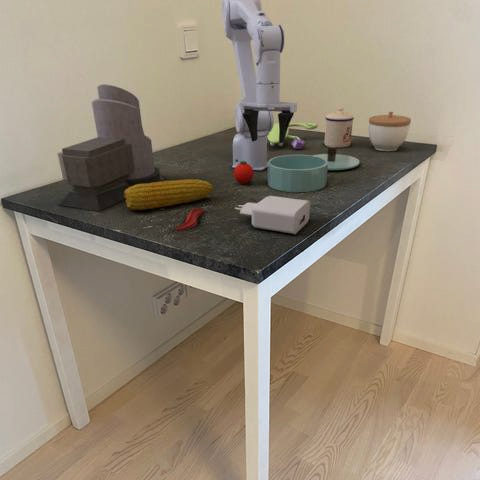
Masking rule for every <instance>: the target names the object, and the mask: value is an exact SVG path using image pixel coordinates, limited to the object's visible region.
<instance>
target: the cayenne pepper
mask: <svg viewBox="0 0 480 480" xmlns="http://www.w3.org/2000/svg"><path fill="white" fill-rule="evenodd" d="M204 212H205V210H203V209H200V208H192V209H191V210H190V212H189V213H188V214H187V215H186V219H185V222H184V223H182V224H180V225H179V226H177V227H176V228H175V231H181V230H182V231H183V230H187V229H190V228H193V227H196V226H197V225H198V218H199V217H200V216H201V214H203V213H204Z"/></svg>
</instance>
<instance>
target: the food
mask: <svg viewBox="0 0 480 480" xmlns="http://www.w3.org/2000/svg"><path fill="white" fill-rule="evenodd" d="M213 189H214V187H213V184H211V183H210V181H209V182H208V181H207V180H202V179H192V178H190V179H178V180H177V179H175V180H163V181H161V182H154V183H150V184H149V183H147V184H137V185H134V186H131V187H129V188H128V189H126V190H125V191H124V195H125V196H124V197H125V203H126V207H128V209H130V210H132V211H143V210H144V211H145V210H153V209H158V208H166V207H169V206H171V207H172V206H175V205H179V204H185V203H190V202H195V201H200V200H203V199H205V198H207V197H209V196H210V195H211V194H212V191H213Z"/></svg>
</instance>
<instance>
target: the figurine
mask: <svg viewBox="0 0 480 480" xmlns="http://www.w3.org/2000/svg"><path fill="white" fill-rule="evenodd" d="M318 126H319V125H318V124H317V123H313V122H308V123H307V124H306V123H305V122H290V123H289V126H288V129H287V132H286V136H285V139H288V140H293V141H292V142H291V145H292V147H293V149H297V150H302V149H303V147H304V145H305V144H306V140H304V139H303V138H300V137H299V136H296V135H290V134H289V131H290V129H289V128H290V127H292V128H293V127H303V128H304V129H306V130H315V129H317V128H318ZM268 143H269V144H270V146H271V147H274V146H275V145H277V146H278V147H283V145H284V142H283V143H279V122H278V123H277V122H275V123H274V124H273V128H272V130H271V132H269V135H267V144H268Z"/></svg>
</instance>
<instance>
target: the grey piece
mask: <svg viewBox="0 0 480 480" xmlns="http://www.w3.org/2000/svg"><path fill="white" fill-rule="evenodd" d="M96 89H97V95H98V98H95V99H93V100H92V102H91V107H92V112H93V118H94V124H95V130H96V131H95V132H96V137H94V138H91V139H88V140H86V141H82V142H78V143H76V144H73V145H69V146H67V147H66V146H65V147H64V148H61V151H60V152H57V157H58V162H59V166H60V171H61V176H62V180H64V181H67V185H70V186H72V187H71V189H72V190H70V191H68V193H67V195H66V196H65V197H64V198H63V200H62V201H61V202H60V204H59V205H60V206H64V207H68V208H69V207H71V208H76V209H83V210H90V211H95V212H101V211H103V210H105V209H107V208H109V207H111V206H113V205H115V204H117V203H119V202H120V201H123V200H126V198H125V197H124V196H125V195H124V191H125V190H126V189H128V188H129V187H131V186H134V185H137V184H147V183H149V184H150V183H154V182H161V181H162V182H163V181H166V178H165V177H163V176H161V172H160V169H159V168H158V167H156V166H155V161H154V153H153V144H152V139H151V138H150V136H147V135H145V131H144V128H143V123H142V114H141V105H140V100H139V98H138V97H137V96H136V95H135V94H133V93H132V92H130V91H129V90H127V89H124V88H122V87H119V86H116V85H113V84H104V83H103V84H99V85H98V86H97V87H96Z"/></svg>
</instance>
